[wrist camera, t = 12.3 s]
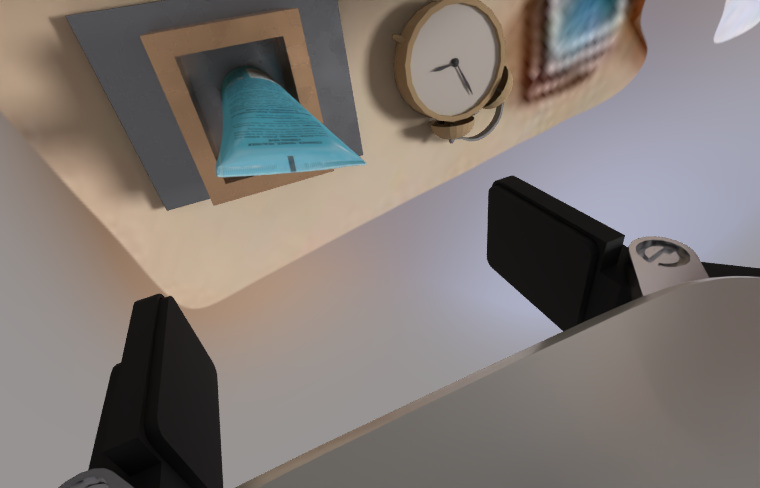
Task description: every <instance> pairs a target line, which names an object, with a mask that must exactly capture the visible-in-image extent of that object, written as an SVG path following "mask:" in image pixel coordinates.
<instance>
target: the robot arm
mask: <svg viewBox="0 0 760 488" xmlns="http://www.w3.org/2000/svg"><path fill="white" fill-rule="evenodd" d="M624 237H625V235H623V234H621V233H620V232H618V231H616V230H614V229H612V228H610V227H608V226H606V225H605V224H603V223H601V222H599V221H597V220H595V219H593V218H591V217H590V216H588V215H586V214H584V213H582V212H580V211H578V210H577V209H575V208H573V207H571V206H569V205H567V204H566V203H564V202H562V201H560V200H558V199H556V198H554V197H552V196H550V195H549V194H547V193H545V192H543V191H541V190H539V189H538V188H536V187H534V186H532V185H530V184H528V183H526V182H525V181H522V180H521V179H519V178H517V177H515V176H509V177H506V178H503V179H500V180H497V181H495V182H494V183H493V185H492V187H491V188H490V189H489V196H488V234H487V260H488V263H489V265H490V266H491V267H492V268H493V269H494V270H495V271H496V272H497V273H499V274H500V275H501V276H502V277H503V278H504V279H505V280H506V281H507V282H509V283H510V284H511V285H512V286H513V287H514V288H515V289H516V290H518V291H519V292H520V293H521V294H522V295H523V296H524V297H526V298H527V299H528V300H529V301H530V302H531V303H532V304H533V305H534V306H536V307H537V308H538V309H539V310H540V311H541V312H543V314H545V315H546V316H547V317H548V318H549V319H550V320H551V321H552V322H554V323H555V324H556V325H557V326H558V327H559V328H560V329H561V330H563V332H561V333H559V334H557V335H555V336H553V337H550V338H548V339H546V340H544V341H542V342H540V343H538V344H536V345H533V346H531V347H529V348H527V349H525V350H522V351H520V352H518V353H516V354H514V355H512V356H509V357H507V358H505V359H503V360H501V361H499V362H497V363H494V364H492V365H490V366H488V367H486V368H484V369H482V370H480V371H477V372H475V373H473V374H471V375H469V376H467V377H464V378H462V379H460V380H458V381H456V382H454V383H452V384H450V385H448V386H445V387H443V388H441V389H439V390H437V391H435V392H432V393H430V394H428V395H426V396H424V397H422V398H420V399H418V400H415V401H413V402H411V403H409V404H407V405H405V406H403V407H401V408H399V409H397V410H394V411H393V412H390V413H388V414H386V415H384V416H382V417H380V418H377V419H375V420H373V421H371V422H370V423H367V424H365V425H363V426H361V427H359V428H356V429H354V430H352V431H350V432H348V433H346V434H344V435H342V436H340V437H337V438H335V439H333V440H331V441H329V442H327V443H325V444H323V445H321V446H318V447H317V448H314V449H312V450H310V451H308V452H306V453H304V454H302V455H300V456H298V457H296V458H294V459H292V460H290V461H288V462H286V463H284V464H282V465H280V466H278V467H276V468H274V469H272V470H270V471H268V472H266V473H264V474H262V475H259V476H258V477H256V478H254V479H251V480H249V481H247V482H245V483H243V484H241V485H239V486H238V487H236V488H760V268H751V267H742V266H733V265H724V264H715V263H706V262H701V261H700V259H699V257H698V256H697V254H696V253H695V252H694V251H693V250H692V249H691V248H690V247H688V246H687V245H685V244H683V243H681V242H678V241H676V240H672V239H668V238H663V237H642V238H638V239H636V240H634V241H632V242H631V244H630V245H629V247H626V246H625V245H623V241H624ZM59 488H223V475H222V456H221V439H220V420H219V401H218V382H217V373H216V369H215V366H214V364H213V362H212V360H211V359H210V357H209V356H208V354H207V352H206V350H205V349H204V347H203V345H202V344H201V342H200V341H199V339H198V337H197V336H196V334H195V332H194V331H193V329H192V328H191V326H190V324H189V323H188V321H187V319H186V318H185V316H184V315H183V313H182V311H181V310H180V308H179V306H178V304H177V303H176V301H175V300H174V298H173V297H172V296H168V297H164V296H163V295H162V294H156V295H153V296H150V297H147V298H145V299H141V300H139V301H136V302H135V303H134V305H133V310H132V315H131V319H130V324H129V329H128V333H127V338H126V343H125V347H124V352H123V357H122V362H121V363H119V364H116V366H114V367H113V370H112V372H111V376H110V380H109V384H108V389H107V393H106V397H105V401H104V405H103V410H102V414H101V418H100V422H99V427H98V431H97V435H96V439H95V444H94V448H93V452H92V456H91V461H90V465H89V469H88V471H85V472H82V473H80V474H78V475H76V476H75V477H73V478H71V479H69V480H68V481H66V482H65V483H63V484H62V485H61V486H60V487H59Z"/></svg>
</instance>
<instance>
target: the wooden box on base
mask: <svg viewBox="0 0 760 488" xmlns="http://www.w3.org/2000/svg"><path fill="white" fill-rule="evenodd" d="M66 18H67V20H68V22H69V24H70V26H71V27H72V29H73V31H74V33H75V35H76V37H77V39H78V41H79V43H80V45H81V47H82V49H83V50H84V52H85V54H86V56H87V58H88V60H89V62H90V64H91V66H92V68H93V70H94V72H95V73H96V75H97V77H98V79H99V81H100V83H101V85H102V87H103V89H104V91H105V93H106V95H107V96H108V98H109V100H110V102H111V104H112V106H113V108H114V110H115V112H116V114H117V116H118V118H119V120H120V121H121V123H122V125H123V127H124V129H125V131H126V133H127V135H128V137H129V139H130V141H131V143H132V144H133V146H134V148H135V150H136V152H137V154H138V156H139V158H140V160H141V162H142V164H143V166H144V167H145V169H146V171H147V173H148V175H149V177H150V179H151V181H152V183H153V185H154V187H155V189H156V191H157V192H158V194H159V196H160V198H161V200H162V202H163V204H164V206H165V208H166V210H167V211H168V210H172V209H175V208H179V207H182V206H186V205H189V204H193V203H196V202H200V201H203V200H207V199H210V198H211V201H212V203H213V205H218V204H221V203H225V202H228V201H232V200H235V199H239V198H242V197H245V196H249V195H252V194H256V193H259V192H263V191H266V190H270V189H273V188H276V187H280V186H283V185H287V184H290V183H294V182H297V181H301V180H304V179H307V178H311V177H314V176H318V175H321V174H325V173H328V172H332V171H334V169H327V170H317V171H307V172H296V173H283V174H271V175H257V176H239V177H217V176H216V163H217V159H218V156H219V152H220V147H221V141H222V132H223V109H222V99H221V87H222V83H223V81H224V79H225V77H226V76H227V75H228V74H229V73H230V72H231V71H232V70H234V69H236V68H239V67H242V66H251V67H256V68H258V69H261V70H263V71H264V72H266V73H267V74H268V75H269V76H270V77H272V78H273V79H274V80H275V81H276V82H277V83H278V84H279V85H280V86H281V87H282V88H283V89H284V90H285V91H286V92H288V93H289V94H290V95H291V96H292V97H293V98H294V99H295V100H296V101H297V102H299V103H300V104H301V105H302V106H303V107H304V108H305V109H306V110H307V111H308V112H310V113H311V114H312V115H313V116H314V117H315V118H316V119H317V120H318V121H320V122H321V123H322V124H323V125H324V126H325V127H326V128H327V129H329V130H330V131H331V132H332V133H333V134H334V135H335V136H336V137H338V138H339V139H340V140H341V141H342V142H343V143H344V144H345V145H347V146H348V147H349V148H350V149H351V150H352V151H353V152H355V153H356V154H357V155H358V156H361V155H363V151H362V145H361V139H360V133H359V127H358V121H357V115H356V109H355V103H354V97H353V92H352V86H351V80H350V74H349V68H348V62H347V56H346V50H345V44H344V38H343V32H342V26H341V20H340V14H339V8H338V3H337V0H164V1H157V2H151V3H145V4H139V5H132V6H126V7H120V8H113V9H107V10H101V11H94V12H88V13H82V14H75V15H69V16H66Z"/></svg>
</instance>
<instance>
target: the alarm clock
mask: <svg viewBox="0 0 760 488" xmlns="http://www.w3.org/2000/svg"><path fill="white" fill-rule="evenodd" d="M392 39H394V40H395V41H396V42H397V44H396V51H395V57H394V72H395V80H396V84H397V86H398V88H399V90H400V93H401V95H402V97H403V99H404V100H405V101H406V102H407V103H408V104H409V105H410V106H411V107H412V109H414V110H416V111H418V112H419V113H421V114H423V115H425V116H429V117H432V118H435V119H437V120H440V121H446V122H445V123H444V124H438V123H437V122H436V120H434V121H432V122H431V128H432V131H433V132H434V133H435V134H436V135H437V136H438V137H440V138H444V139H449V142H450V143H453V142H454V140H456V139H463V140H467V141H477V140H480V139H482V138H484V137H485V136H487V135H488V134H489V133H490V132H491V131H492V130H493V129H494V128H495V127H496V125H497V124H498V122H499V120H500V118H501V115H502V111H503V105H504V101H505V100H506V99H507V97H508V96H509V94H510V92H511V89H512V85H513V76H512V73H511V72H510V70H509V69H508V68H507V67H506V66H504V65H505V39H504V35H503V31H502V27H501V24H500V23H499V21H498V19H497V18H496V16H495V15H494V13H493V11H492V10H491V9H490V8H488V7H487V6H486V5H485V4H483V3H482V2H481V1H479V0H439V1H434V2H431V3H429V4H427V5H426V6H424V7H423V8H421V9H420V10H418V11H416V13H415V14H414V15H413V16H412V18H411V19H410V20H409V21H408V22H407V24H406V25H405V26H404V28H403V31H402V33H401V35H396V34H393V36H392ZM495 107H497V108H496V112H495V115H494V117H493V120H492V121H491V122H490V124H489V125H488V126H487V128H486V129H485V130H484V131H482V132H481V133H479V134H478V135H475V136H473V137H469V138H468V137H463V136H464V135H466V134H468V133H469V132H470V130H471V129H472V127H473V125H474V117H472V116H471V115H473V114H474V115H475V114H477V113H478V112H479V110H481V109H482V108H484V109H492V108H495Z"/></svg>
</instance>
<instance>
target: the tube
mask: <svg viewBox="0 0 760 488" xmlns="http://www.w3.org/2000/svg"><path fill="white" fill-rule="evenodd" d="M221 99H222V109H223V132H222V141H221V147H220V152H219V156H218V159H217V163H216V176H217V177H239V176H257V175H271V174H283V173H296V172H307V171H317V170H327V169H333V168H340V167H345V166H356V165H366V163H365V162H364V161H363V160H362V159H361V158H360V157H359V156H358V155H357V154H356V153H355V152H353V151H352V150H351V149H350V148H349V147H348V146H347V145H345V144H344V143H343V142H342V141H341V140H340V139H339V138H338V137H336V136H335V135H334V134H333V133H332V132H331V131H330V130H329V129H327V128H326V127H325V126H324V125H323V124H322V123H321V122H320V121H318V120H317V119H316V118H315V117H314V116H313V115H312V114H311V113H310V112H308V111H307V110H306V109H305V108H304V107H303V106H302V105H301V104H300V103H299V102H297V101H296V100H295V99H294V98H293V97H292V96H291V95H290V94H289V93H288V92H286V91H285V90H284V89H283V88H282V87H281V86H280V85H279V84H278V83H277V82H276V81H275V80H274V79H273V78H272V77H270V76H269V75H268V74H267V73H266V72H264V71H263V70H261V69H258V68H256V67H251V66H242V67H239V68H236V69H234V70H232V71H231V72H230V73H229V74H228V75H227V76H226V77H225V79H224V81H223V83H222V87H221Z"/></svg>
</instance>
